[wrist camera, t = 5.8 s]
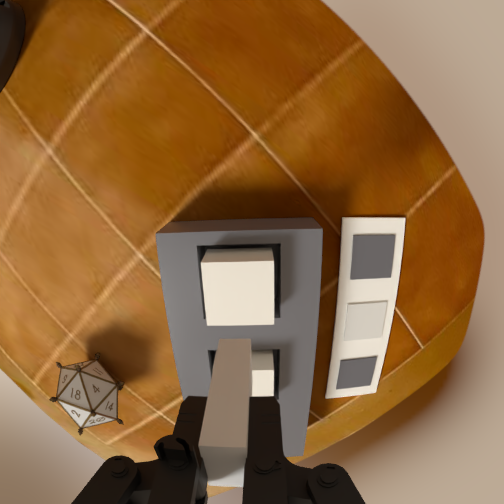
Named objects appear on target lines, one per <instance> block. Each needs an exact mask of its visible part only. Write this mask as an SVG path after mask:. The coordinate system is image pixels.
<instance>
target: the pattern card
mask: <svg viewBox="0 0 504 504" xmlns="http://www.w3.org/2000/svg"><path fill="white" fill-rule="evenodd" d="M404 231H405V218H404V217H342V225H341V247H340V264H339V279H338V292H337V304H336V314H335V324H334V334H333V343H332V351H331V359H330V367H329V374H328V381H327V388H326V395H325V398H326V399H328V398H337V397H346V396H354V395H362V394H369V393H376V389H377V386H378V382H379V378H380V374H381V370H382V366H383V362H384V357H385V353H386V348H387V344H388V339H389V334H390V329H391V324H392V319H393V313H394V308H395V302H396V296H397V289H398V282H399V275H400V268H401V260H402V251H403V241H404Z"/></svg>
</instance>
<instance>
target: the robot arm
mask: <svg viewBox="0 0 504 504" xmlns="http://www.w3.org/2000/svg"><path fill="white" fill-rule="evenodd" d="M24 32H25V15H24V12H23V9H22V8H21V6H20V5H19V4H17V3H15V2H13V1H11V0H0V91H1V90H2V88H3V86H4V85H5V83H6V81H7V80H8V78H9V76H10V74H11V72H12V70H13V67H14V65H15V63H16V60H17V58H18V55H19V52H20V49H21V46H22V42H23V38H24ZM252 383H253V380H252V355H251V339H219V343H218V348H217V353H216V358H215V363H214V368H213V373H212V378H211V383H210V388H209V393H208V397H206V396H188V397H187V398H186V399H185V400H184V401H183V402H182V403H181V406H180V410H179V415H178V417H177V422H176V424H175V427H174V431H173V435H168V436H165V437H162V438H161V439H159V440H158V441H157V442H156V444H155V445H154V449H155V451H156V454H157V456H158V458H159V459H156V460H153V461H148V462H139V463H135V462H134V461H133V460H132V459H130V458H129V457H126V456H114V457H111V458H109V459H107V460H106V461H105V462H104V463H103V465H102V466H101V467H100V468H99V470H98V471H97V472H96V473H95V475H94V476H93V477H92V478H91V480H90V481H89V482H88V483H87V485H86V486H85V487H84V489H83V490H82V491H81V492H80V494H79V495H78V496H77V497H76V499H75V500H74V501H73V502H72V504H207V500H208V495H207V491H206V488H207V481H208V483H209V485H211V486H231V487H243V502H242V504H365V502H364V500H363V499H362V497H361V495H360V493H359V492H358V490H357V489H356V487H355V485H354V483H353V482H352V480H351V478H350V476H349V475H348V473H347V472H346V471H345V469H344V468H343V467H341V466H339V465H336V464H331V463H327V464H321V465H319V466H316V467H314V468H313V469H310V468H305V467H300V466H297V465H294V464H292V463H291V462H290V461H288V460H287V459H286V457H285V455H284V452H283V441H282V427H281V414H280V404H279V403H278V401H277V400H276V398H275V397H274V396H253V397H252Z"/></svg>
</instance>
